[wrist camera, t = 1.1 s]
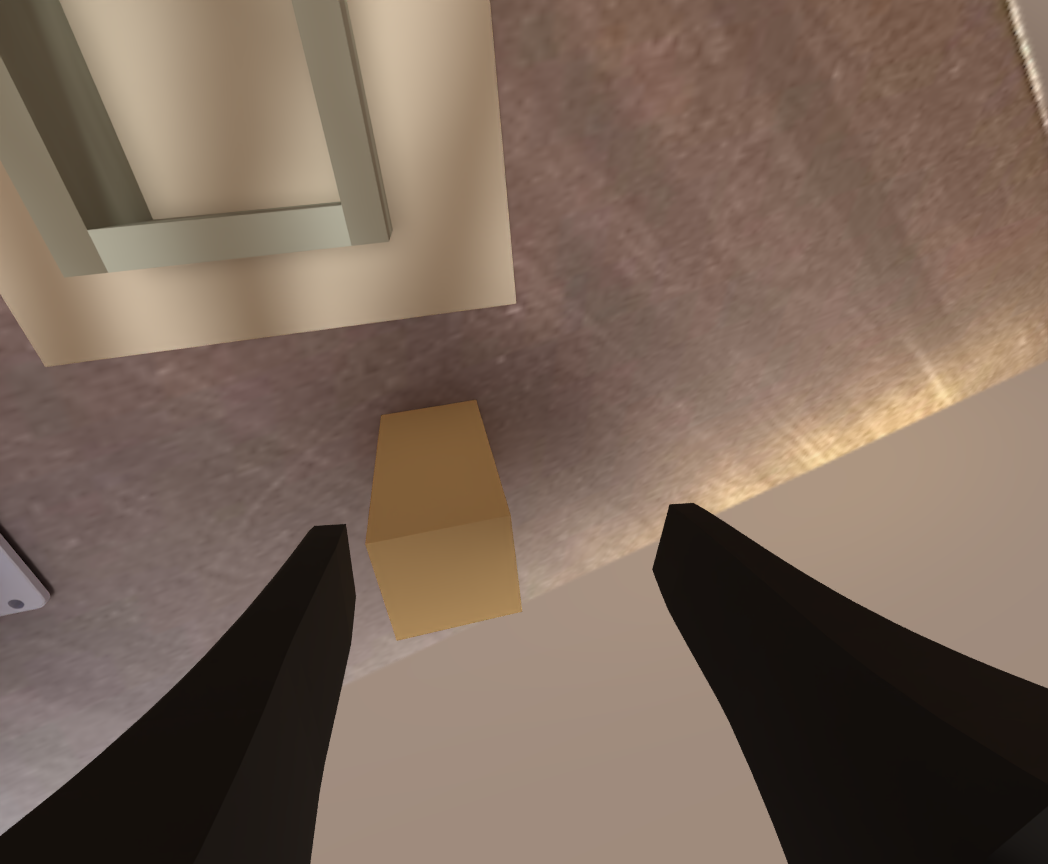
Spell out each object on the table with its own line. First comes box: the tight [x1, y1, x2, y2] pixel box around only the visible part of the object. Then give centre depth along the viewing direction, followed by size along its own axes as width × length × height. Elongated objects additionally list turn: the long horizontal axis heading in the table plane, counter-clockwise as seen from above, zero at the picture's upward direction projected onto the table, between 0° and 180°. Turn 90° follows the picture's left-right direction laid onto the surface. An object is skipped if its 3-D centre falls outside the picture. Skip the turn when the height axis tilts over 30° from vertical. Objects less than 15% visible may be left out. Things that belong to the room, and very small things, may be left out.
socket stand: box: [0, 0, 516, 367], centre depth 12 cm, size 16×14×4 cm
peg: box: [365, 400, 522, 641], centre depth 17 cm, size 4×4×8 cm
